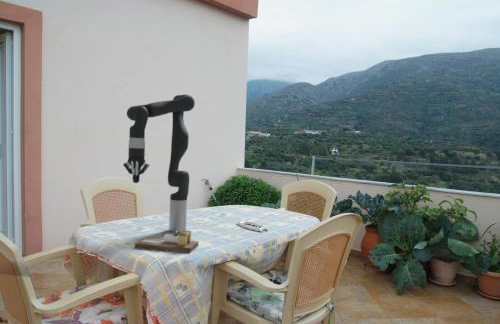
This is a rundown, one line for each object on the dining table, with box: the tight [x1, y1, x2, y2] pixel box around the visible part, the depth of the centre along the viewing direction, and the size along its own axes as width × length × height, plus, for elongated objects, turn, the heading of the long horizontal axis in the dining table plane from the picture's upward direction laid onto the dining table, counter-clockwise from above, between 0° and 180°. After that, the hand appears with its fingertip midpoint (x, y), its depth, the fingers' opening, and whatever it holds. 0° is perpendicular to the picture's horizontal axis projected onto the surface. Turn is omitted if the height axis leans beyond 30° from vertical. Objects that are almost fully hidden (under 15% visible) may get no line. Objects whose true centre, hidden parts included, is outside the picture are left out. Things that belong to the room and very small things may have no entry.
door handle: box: [236, 219, 270, 233], centre depth 210 cm, size 3×10×25 cm
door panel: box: [134, 236, 199, 254], centre depth 162 cm, size 12×26×2 cm, turn 81°
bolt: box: [163, 231, 179, 243], centre depth 161 cm, size 3×10×5 cm, turn 81°
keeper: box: [177, 230, 192, 246], centre depth 160 cm, size 7×4×5 cm, turn 171°
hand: (135, 182), depth 171 cm, fingers closed
